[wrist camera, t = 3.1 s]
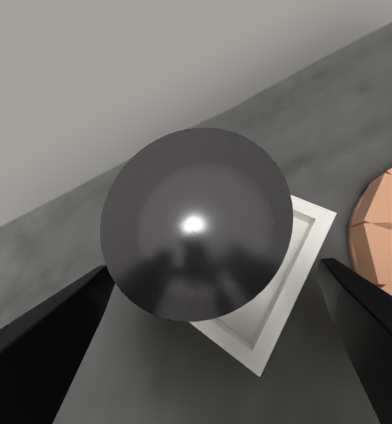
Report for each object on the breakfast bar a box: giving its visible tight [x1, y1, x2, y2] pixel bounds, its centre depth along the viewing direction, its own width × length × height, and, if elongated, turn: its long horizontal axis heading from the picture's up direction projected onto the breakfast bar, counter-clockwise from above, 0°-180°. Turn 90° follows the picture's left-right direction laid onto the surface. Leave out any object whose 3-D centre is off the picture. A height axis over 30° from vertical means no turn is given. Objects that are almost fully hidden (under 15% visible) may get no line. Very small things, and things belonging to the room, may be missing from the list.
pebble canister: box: [100, 128, 293, 322], centre depth 11 cm, size 6×6×11 cm
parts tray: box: [189, 195, 337, 377], centre depth 16 cm, size 12×12×2 cm
